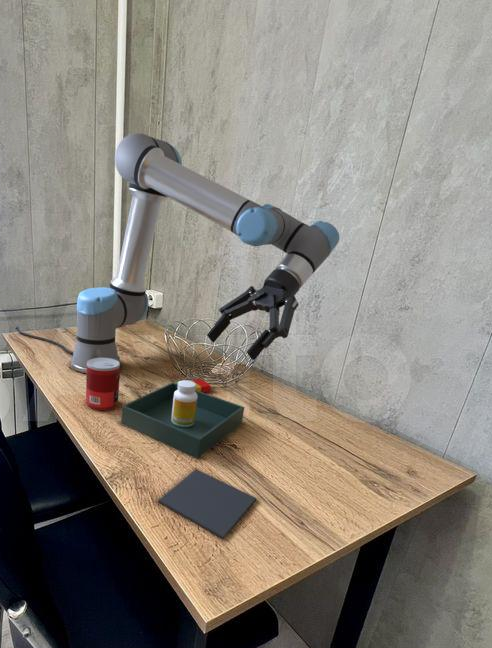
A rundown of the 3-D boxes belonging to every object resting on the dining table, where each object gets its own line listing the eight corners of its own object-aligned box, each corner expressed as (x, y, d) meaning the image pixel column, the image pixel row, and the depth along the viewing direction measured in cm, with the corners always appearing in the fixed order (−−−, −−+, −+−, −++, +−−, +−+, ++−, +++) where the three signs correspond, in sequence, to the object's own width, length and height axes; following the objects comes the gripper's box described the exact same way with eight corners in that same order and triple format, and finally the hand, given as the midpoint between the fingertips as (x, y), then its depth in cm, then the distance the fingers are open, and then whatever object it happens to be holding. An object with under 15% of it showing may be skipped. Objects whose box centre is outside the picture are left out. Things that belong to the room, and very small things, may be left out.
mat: (158, 502, 66) (158, 499, 66) (195, 471, 75) (195, 469, 75) (223, 539, 60) (223, 536, 59) (255, 500, 68) (256, 498, 68)
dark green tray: (121, 423, 91) (122, 406, 89) (171, 397, 106) (172, 382, 104) (197, 458, 79) (200, 439, 78) (241, 423, 94) (244, 407, 93)
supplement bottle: (197, 427, 90) (202, 388, 87) (174, 428, 89) (178, 388, 86) (190, 416, 95) (195, 378, 92) (168, 416, 94) (172, 378, 91)
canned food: (121, 409, 97) (123, 367, 93) (88, 412, 95) (89, 369, 91) (114, 396, 104) (115, 356, 100) (83, 398, 102) (84, 357, 98)
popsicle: (211, 391, 111) (212, 385, 110) (164, 398, 105) (164, 392, 104) (201, 384, 115) (201, 378, 115) (154, 390, 109) (155, 384, 109)
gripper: (339, 300, 85) (277, 375, 83) (254, 281, 105) (203, 341, 103) (329, 275, 81) (262, 353, 79) (242, 261, 101) (188, 323, 99)
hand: (228, 347), depth 91 cm, fingers open, 13 cm apart
